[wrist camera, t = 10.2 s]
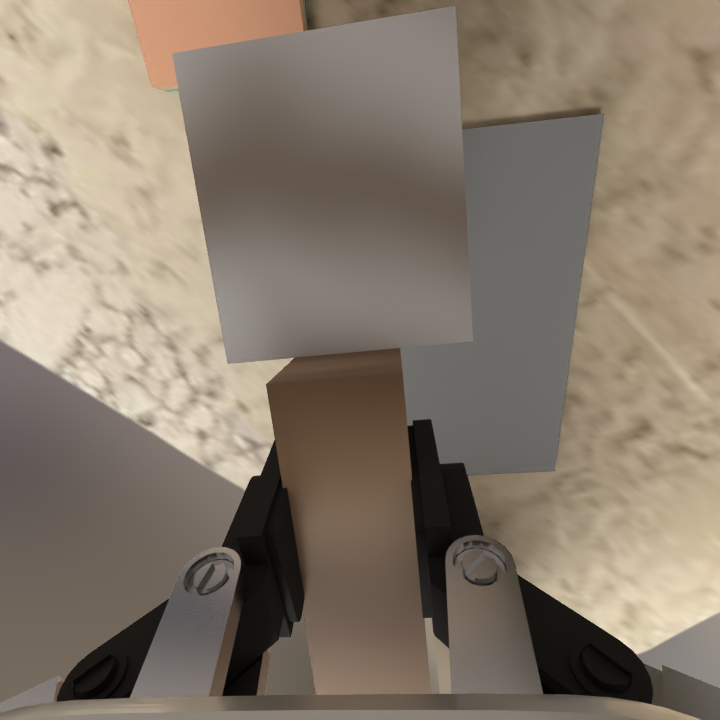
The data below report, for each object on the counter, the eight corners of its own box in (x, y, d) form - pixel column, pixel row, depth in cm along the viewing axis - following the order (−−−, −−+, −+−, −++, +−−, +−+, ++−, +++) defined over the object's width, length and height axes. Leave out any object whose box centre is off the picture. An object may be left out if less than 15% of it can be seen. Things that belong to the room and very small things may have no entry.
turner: (485, 670, 15) (515, 797, 11) (292, 673, 15) (263, 794, 12) (451, 25, 10) (481, -98, 7) (187, 68, 11) (93, -23, 8)
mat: (552, 466, 33) (554, 471, 32) (399, 473, 34) (399, 477, 33) (599, 114, 22) (604, 113, 22) (375, 139, 23) (375, 138, 23)
